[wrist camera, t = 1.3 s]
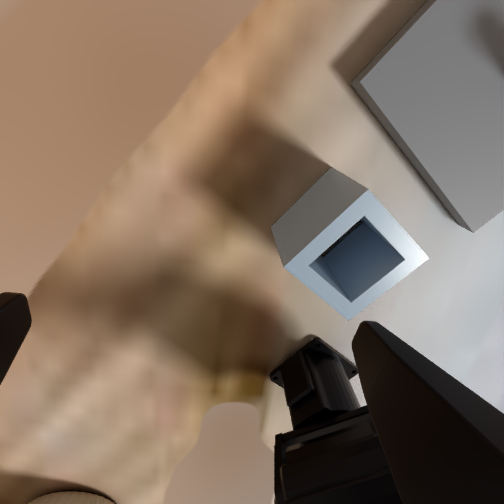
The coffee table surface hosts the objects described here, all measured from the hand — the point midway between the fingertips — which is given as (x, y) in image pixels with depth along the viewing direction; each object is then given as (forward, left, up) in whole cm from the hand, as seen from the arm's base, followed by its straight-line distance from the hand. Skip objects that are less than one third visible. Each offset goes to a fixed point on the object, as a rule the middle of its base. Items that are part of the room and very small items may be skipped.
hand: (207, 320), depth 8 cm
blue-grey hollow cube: (-8, -3, -14) cm, 16 cm away
